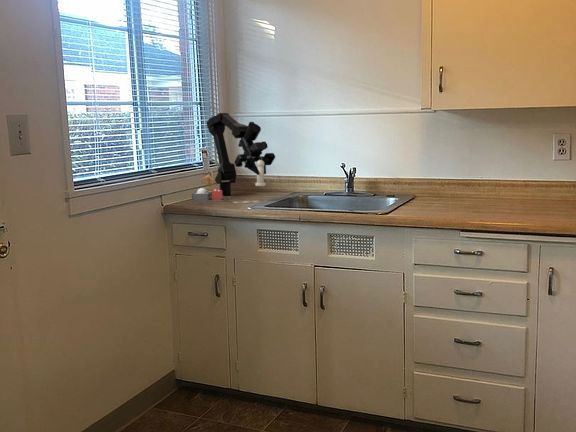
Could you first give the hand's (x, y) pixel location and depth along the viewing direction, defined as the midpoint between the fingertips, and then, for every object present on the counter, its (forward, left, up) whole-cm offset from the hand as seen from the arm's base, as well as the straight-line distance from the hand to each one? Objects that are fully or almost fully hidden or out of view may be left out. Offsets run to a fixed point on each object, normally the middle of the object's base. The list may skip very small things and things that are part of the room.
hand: (262, 174), depth 283 cm
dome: (-3, -28, -12) cm, 30 cm away
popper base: (-3, -24, -13) cm, 28 cm away
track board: (+1, -5, -13) cm, 15 cm away
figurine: (-14, -26, -14) cm, 33 cm away
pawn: (-1, -1, -5) cm, 5 cm away
